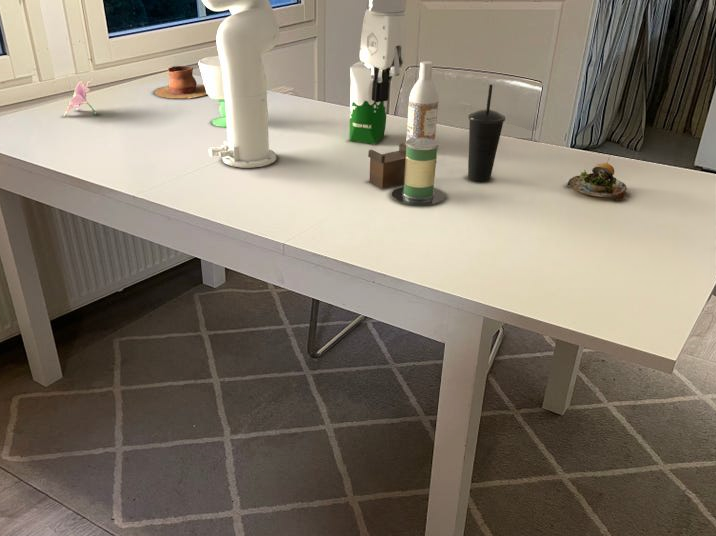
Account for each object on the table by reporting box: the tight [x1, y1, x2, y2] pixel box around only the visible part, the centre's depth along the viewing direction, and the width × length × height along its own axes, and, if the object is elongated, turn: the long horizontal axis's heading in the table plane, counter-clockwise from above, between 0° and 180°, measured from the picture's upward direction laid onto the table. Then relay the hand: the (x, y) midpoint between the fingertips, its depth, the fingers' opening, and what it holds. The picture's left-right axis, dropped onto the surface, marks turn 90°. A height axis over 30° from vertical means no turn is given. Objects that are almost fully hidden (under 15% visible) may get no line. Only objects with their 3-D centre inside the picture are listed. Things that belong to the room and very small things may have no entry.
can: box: [402, 138, 440, 201], centre depth 146 cm, size 7×12×13 cm
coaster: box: [391, 186, 445, 207], centre depth 149 cm, size 11×11×1 cm
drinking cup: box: [467, 84, 506, 184], centre depth 152 cm, size 8×8×20 cm
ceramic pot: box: [154, 65, 208, 100], centre depth 220 cm, size 18×18×7 cm
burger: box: [567, 156, 628, 202], centre depth 149 cm, size 12×12×8 cm
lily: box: [63, 78, 98, 117], centre depth 199 cm, size 12×12×10 cm
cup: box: [198, 55, 227, 128], centre depth 190 cm, size 14×14×16 cm
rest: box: [368, 143, 406, 190], centre depth 154 cm, size 9×5×7 cm, turn 121°
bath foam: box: [405, 60, 439, 142], centre depth 170 cm, size 7×7×20 cm
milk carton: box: [349, 60, 388, 145], centre depth 176 cm, size 9×9×20 cm
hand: (379, 100), depth 150 cm, fingers closed
